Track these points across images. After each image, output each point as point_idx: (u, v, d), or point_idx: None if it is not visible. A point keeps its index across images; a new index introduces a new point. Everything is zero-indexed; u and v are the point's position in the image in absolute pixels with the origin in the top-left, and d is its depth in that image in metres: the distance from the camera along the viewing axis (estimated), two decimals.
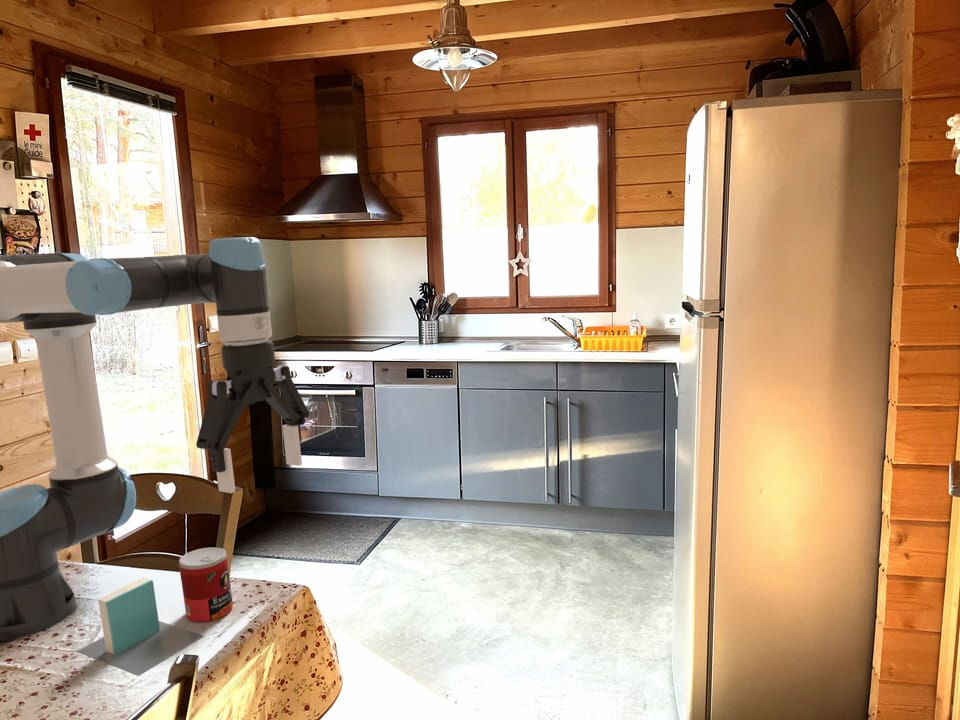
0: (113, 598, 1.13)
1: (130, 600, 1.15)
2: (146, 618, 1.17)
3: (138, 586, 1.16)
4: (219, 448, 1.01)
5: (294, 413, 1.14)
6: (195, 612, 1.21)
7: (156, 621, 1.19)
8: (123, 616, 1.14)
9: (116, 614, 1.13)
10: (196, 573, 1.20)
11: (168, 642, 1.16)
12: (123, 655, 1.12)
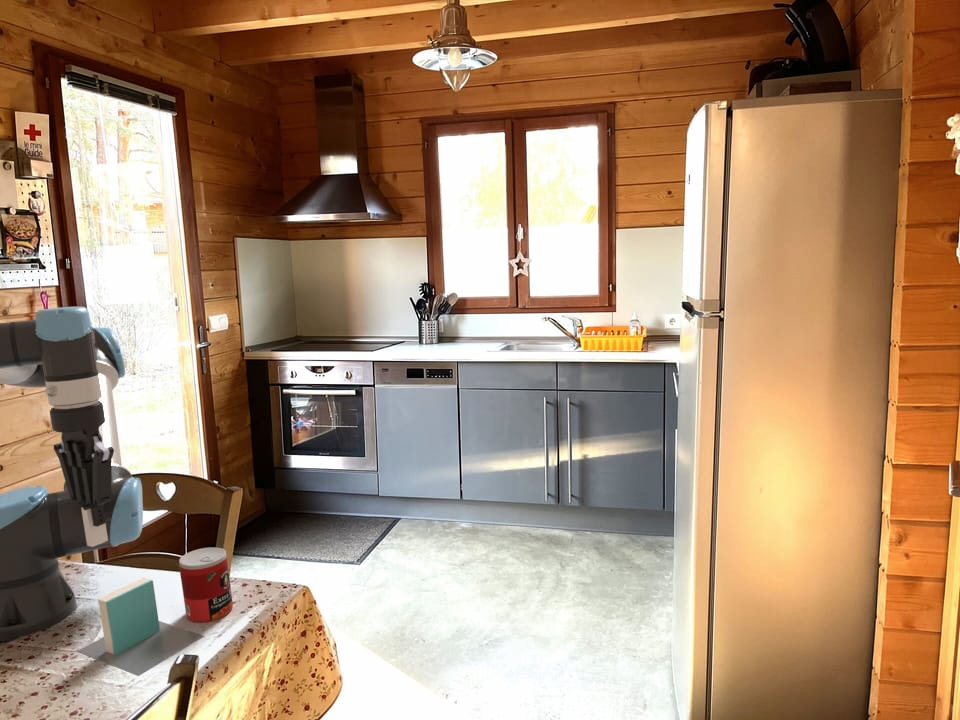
0: (113, 598, 1.13)
1: (130, 600, 1.15)
2: (146, 618, 1.17)
3: (138, 586, 1.16)
4: (79, 505, 1.16)
5: (87, 495, 1.14)
6: (195, 612, 1.21)
7: (156, 621, 1.19)
8: (123, 616, 1.14)
9: (116, 614, 1.13)
10: (195, 573, 1.20)
11: (168, 642, 1.16)
12: (123, 655, 1.12)
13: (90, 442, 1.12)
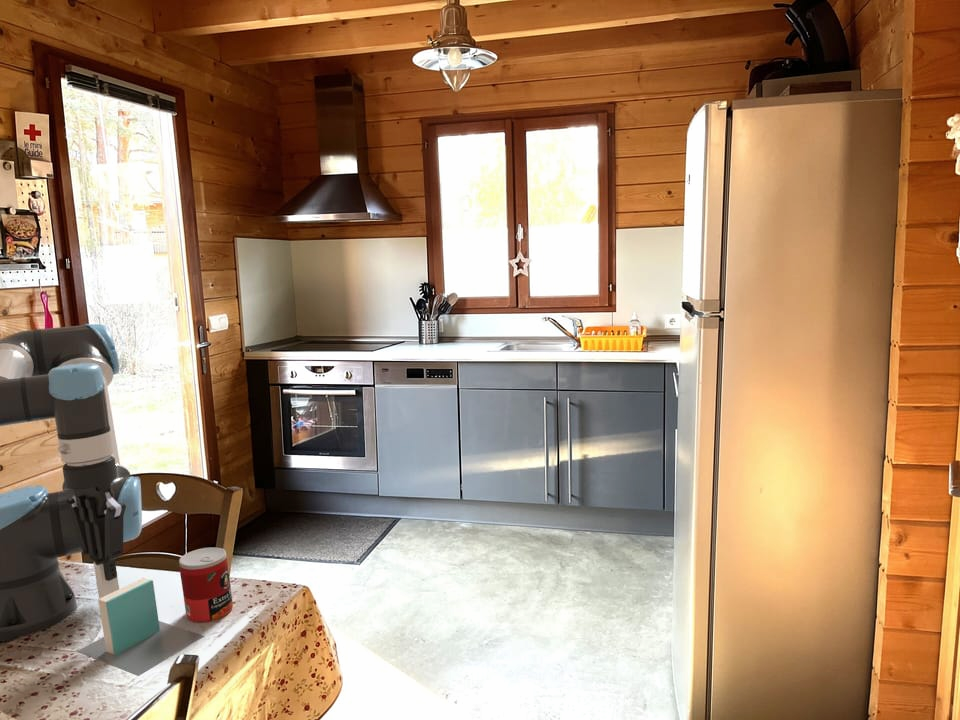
0: (113, 598, 1.13)
1: (130, 600, 1.15)
2: (146, 618, 1.17)
3: (138, 586, 1.16)
4: (91, 559, 1.17)
5: (100, 550, 1.15)
6: (195, 612, 1.21)
7: (156, 621, 1.19)
8: (123, 616, 1.14)
9: (116, 614, 1.13)
10: (196, 573, 1.20)
11: (168, 642, 1.16)
12: (123, 655, 1.12)
13: (102, 498, 1.12)
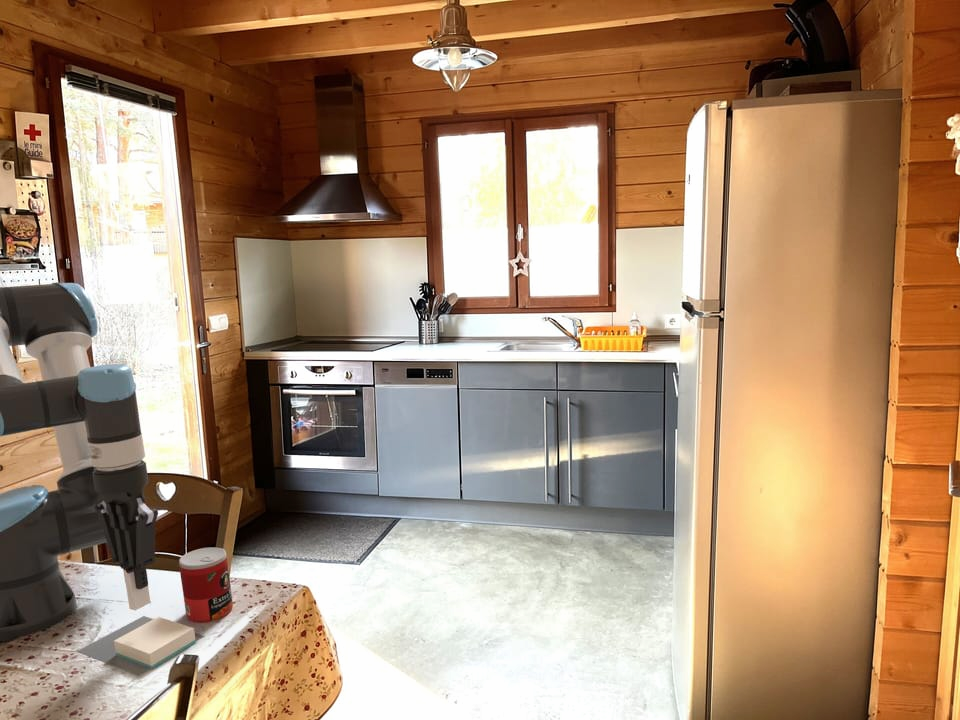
0: (158, 662, 1.09)
1: None
2: None
3: (183, 647, 1.13)
4: (121, 567, 1.13)
5: (131, 558, 1.11)
6: (195, 612, 1.21)
7: None
8: None
9: None
10: (196, 573, 1.20)
11: None
12: None
13: (134, 504, 1.08)
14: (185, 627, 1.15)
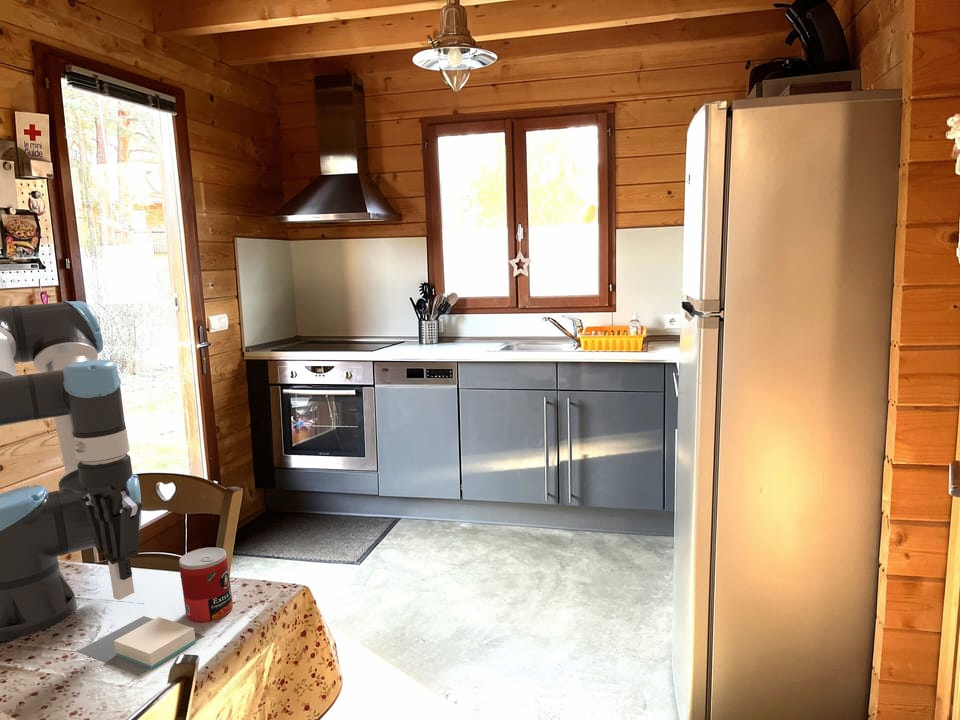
0: (158, 662, 1.09)
1: None
2: None
3: (183, 647, 1.13)
4: (105, 558, 1.15)
5: (115, 549, 1.13)
6: (195, 612, 1.21)
7: None
8: None
9: None
10: (195, 573, 1.20)
11: None
12: None
13: (118, 498, 1.11)
14: (185, 627, 1.15)
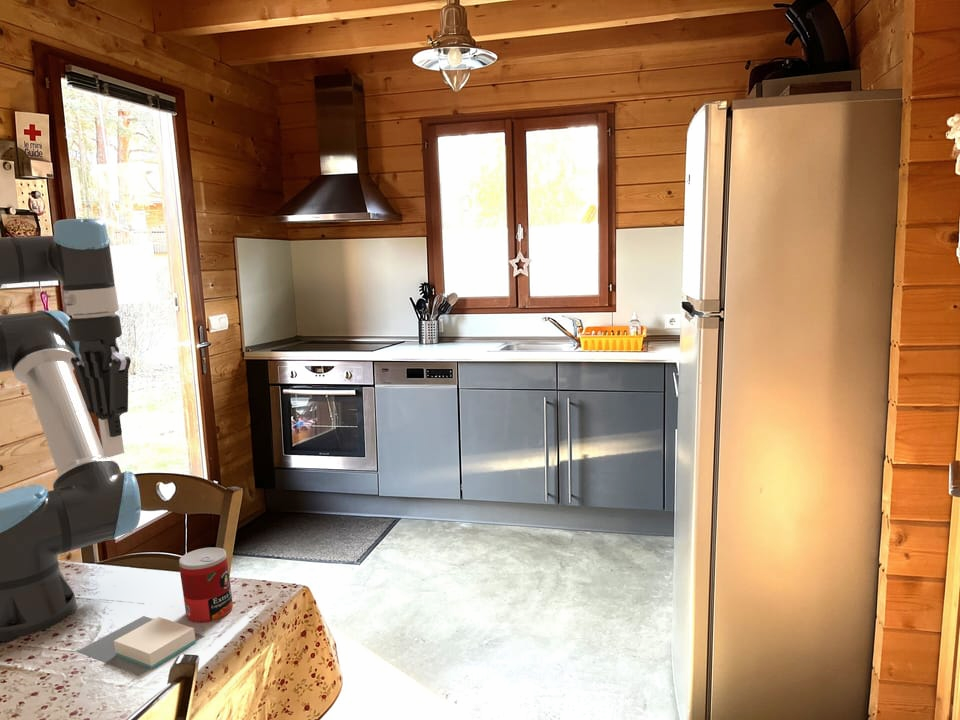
0: (158, 662, 1.09)
1: None
2: None
3: (183, 647, 1.13)
4: (96, 416, 1.18)
5: (105, 405, 1.16)
6: (195, 612, 1.21)
7: None
8: None
9: None
10: (195, 573, 1.20)
11: None
12: None
13: (107, 351, 1.14)
14: (185, 627, 1.15)
